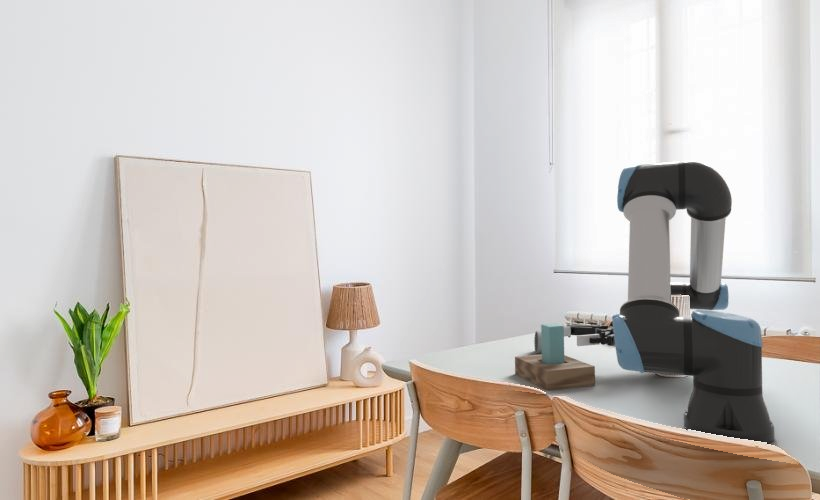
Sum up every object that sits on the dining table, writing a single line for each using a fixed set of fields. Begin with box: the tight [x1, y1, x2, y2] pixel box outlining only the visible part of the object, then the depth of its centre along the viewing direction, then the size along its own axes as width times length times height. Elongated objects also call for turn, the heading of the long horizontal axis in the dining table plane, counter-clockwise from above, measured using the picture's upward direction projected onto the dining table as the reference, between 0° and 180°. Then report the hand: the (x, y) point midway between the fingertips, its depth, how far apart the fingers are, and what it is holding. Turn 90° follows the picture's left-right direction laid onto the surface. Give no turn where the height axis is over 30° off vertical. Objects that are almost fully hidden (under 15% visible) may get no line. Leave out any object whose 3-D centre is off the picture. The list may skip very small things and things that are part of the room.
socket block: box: [514, 354, 596, 391], centre depth 144 cm, size 18×14×5 cm
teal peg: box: [540, 323, 565, 365], centre depth 143 cm, size 4×4×14 cm
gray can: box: [533, 330, 542, 355], centre depth 179 cm, size 11×8×8 cm
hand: (563, 336), depth 145 cm, fingers open, 13 cm apart
